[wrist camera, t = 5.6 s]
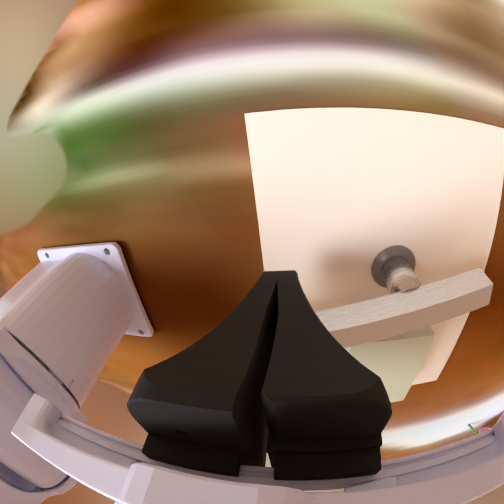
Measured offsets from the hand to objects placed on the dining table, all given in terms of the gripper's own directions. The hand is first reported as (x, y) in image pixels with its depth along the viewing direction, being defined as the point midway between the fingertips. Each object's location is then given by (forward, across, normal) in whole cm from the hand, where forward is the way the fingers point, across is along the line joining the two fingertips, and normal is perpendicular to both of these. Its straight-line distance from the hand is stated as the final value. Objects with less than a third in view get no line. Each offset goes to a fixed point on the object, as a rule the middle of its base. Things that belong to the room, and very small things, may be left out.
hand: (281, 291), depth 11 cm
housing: (+4, -6, +3) cm, 8 cm away
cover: (+3, -6, +8) cm, 10 cm away
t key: (+3, -4, +1) cm, 5 cm away
